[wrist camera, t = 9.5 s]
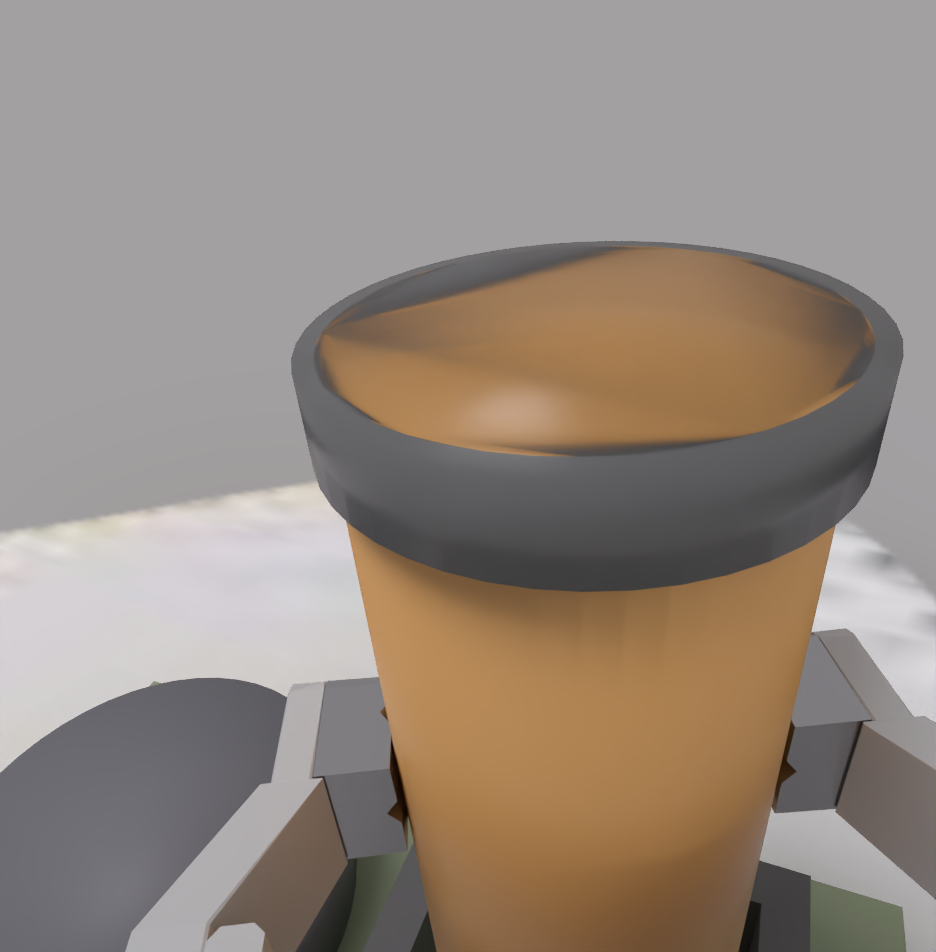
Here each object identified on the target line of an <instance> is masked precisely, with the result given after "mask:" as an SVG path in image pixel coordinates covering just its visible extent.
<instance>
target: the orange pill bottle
mask: <svg viewBox="0 0 936 952" xmlns="http://www.w3.org/2000/svg"><path fill="white" fill-rule="evenodd" d="M902 360H903V339H902V336H901V334H900V332H899V329H898V327H897V325H896V323H895V322H894V320H893V319H892V318H891V317H890V316H889V314H888V313H887V312H886V311H885V309H884V308H882V307H881V306H880V305H879V304H877V303H876V302H875V301H874V300H872V299H871V298H870V297H869V296H867V295H866V294H864V293H862V292H860V291H859V290H857V289H855V288H854V287H852V286H850V285H849V284H846V283H844V282H842V281H840V280H838V279H835V278H833V277H831V276H829V275H827V274H824V273H821V272H818V271H815V270H812V269H809V268H806V267H804V266H801V265H797V264H793V263H790V262H786V261H783V260H779V259H776V258H771V257H766V256H761V255H757V254H753V253H748V252H741V251H735V250H729V249H723V248H716V247H707V246H699V245H688V244H677V243H664V242H637V241H598V242H573V243H559V244H546V245H536V246H526V247H518V248H510V249H503V250H496V251H490V252H485V253H480V254H475V255H468V256H464V257H459V258H455V259H450V260H446V261H442V262H438V263H434V264H430V265H427V266H423V267H419V268H416V269H413V270H410V271H407V272H404V273H401V274H398V275H395V276H392V277H389V278H387V279H384V280H382V281H380V282H377V283H375V284H372V285H370V286H368V287H366V288H364V289H361V290H360V291H357V292H355V293H353V294H351V295H349V296H348V297H346V298H344V299H343V300H341V301H339V302H338V303H336V304H335V305H333V306H331V307H330V308H329V309H328V310H326V311H325V312H323V313H322V314H321V315H320V316H318V317H317V318H316V319H315V320H314V321H313V322H312V323H311V324H310V325H309V326H308V327H307V328H306V329H305V331H304V332H303V334H302V335H301V337H300V338H299V340H298V341H297V343H296V345H295V348H294V351H293V355H292V358H291V366H292V377H293V381H294V386H295V390H296V395H297V399H298V403H299V408H300V412H301V417H302V421H303V425H304V430H305V434H306V438H307V443H308V447H309V452H310V456H311V460H312V465H313V468H314V472H315V475H316V478H317V481H318V484H319V487H320V489H321V491H322V492H323V494H324V495H325V497H326V498H327V500H328V501H329V503H330V504H331V506H332V507H333V508H334V509H335V510H336V511H337V512H338V513H339V514H340V515H341V516H342V517H343V518H344V519H345V520H346V522H347V527H348V532H349V536H350V541H351V546H352V551H353V555H354V560H355V565H356V570H357V575H358V579H359V584H360V589H361V594H362V598H363V603H364V608H365V613H366V617H367V622H368V627H369V632H370V637H371V641H372V646H373V651H374V656H375V660H376V665H377V670H378V675H379V679H380V684H381V689H382V694H383V699H384V703H385V708H386V713H387V718H388V722H389V727H390V732H391V737H392V741H393V746H394V751H395V756H396V761H397V765H398V770H399V775H400V780H401V784H402V789H403V794H404V799H405V804H406V808H407V813H408V818H409V823H410V827H411V832H412V837H413V842H414V846H415V851H416V856H417V861H418V866H419V870H420V875H421V880H422V885H423V889H424V894H425V899H426V904H427V908H428V913H429V918H430V923H431V928H432V932H433V937H434V942H435V947H436V951H437V952H738V951H739V947H740V942H741V938H742V933H743V929H744V925H745V920H746V916H747V911H748V907H749V903H750V898H751V894H752V890H753V885H754V881H755V876H756V872H757V868H758V863H759V859H760V854H761V850H762V846H763V841H764V837H765V832H766V828H767V824H768V819H769V815H770V811H771V806H772V802H773V797H774V793H775V789H776V784H777V780H778V775H779V771H780V767H781V762H782V758H783V753H784V749H785V745H786V740H787V736H788V731H789V727H790V723H791V718H792V714H793V710H794V705H795V701H796V696H797V692H798V688H799V683H800V679H801V674H802V670H803V666H804V661H805V657H806V652H807V648H808V644H809V639H810V635H811V630H812V626H813V622H814V617H815V613H816V609H817V604H818V600H819V595H820V591H821V587H822V582H823V578H824V573H825V569H826V565H827V560H828V556H829V551H830V547H831V543H832V538H833V534H834V530H835V525H836V524H837V523H838V522H839V521H840V520H841V519H842V518H844V517H845V516H846V515H847V514H848V513H849V512H850V511H851V510H852V509H853V508H854V507H855V506H856V505H857V503H858V502H859V500H860V499H861V497H862V496H863V494H864V493H865V491H866V490H867V488H868V487H869V484H870V482H871V479H872V476H873V473H874V470H875V467H876V464H877V460H878V455H879V452H880V448H881V443H882V440H883V436H884V432H885V427H886V424H887V419H888V415H889V412H890V408H891V404H892V399H893V395H894V392H895V388H896V384H897V379H898V376H899V372H900V368H901V364H902Z"/></svg>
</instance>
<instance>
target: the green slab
mask: <svg viewBox="0 0 936 952" xmlns="http://www.w3.org/2000/svg"><path fill="white" fill-rule="evenodd" d="M286 702H287V697H285V696H283V695H282V694H280V693H278V692H276V691H274V690H272V689H269V688H266V687H263V686H261V685H258V684H254V683H250V682H245V681H241V680H234V679H224V678H195V679H186V680H178V681H172V682H167V683H162V684H161V683H158V682H155V681H154V682H153V683H152V684H151V685H150V686H149V687H146V688H143V689H140V690H136V691H133V692H130V693H127V694H125V695H122V696H120V697H117V698H114V699H112V700H109V701H107V702H105V703H103V704H101V705H99V706H96V707H94V708H92V709H90V710H88V711H86V712H84V713H82V714H81V715H79V716H77V717H75V718H74V719H72V720H70V721H68V722H67V723H65V724H63V725H62V726H60V727H59V728H57V729H56V730H54V731H53V732H51V733H50V734H48V735H47V736H45V737H44V738H42V739H41V740H39V741H38V742H37V743H35V744H34V745H33V746H32V747H30V748H29V749H28V750H26V751H25V752H24V753H23V754H21V755H20V756H19V757H18V758H16V759H15V760H14V761H13V762H12V763H11V764H10V765H9V766H8V767H7V768H5V769H4V770H3V771H2V772H1V773H0V952H125V951H126V948H127V944H128V941H129V938H130V935H131V932H132V931H133V930H134V928H135V927H136V926H137V925H138V924H139V923H140V922H141V920H142V919H143V918H144V917H145V916H146V915H147V914H148V912H149V911H150V910H151V909H152V908H153V907H154V906H155V904H156V903H157V902H158V901H159V900H160V899H161V897H162V896H163V895H164V894H165V893H166V892H167V891H168V889H169V888H170V887H171V886H172V885H173V884H174V883H175V881H176V880H177V879H178V878H179V877H180V876H181V875H182V873H183V872H184V871H185V870H186V869H187V868H188V867H189V865H190V864H191V863H192V862H193V861H194V860H195V859H196V857H197V856H198V855H199V854H200V853H201V852H202V851H203V849H204V848H205V847H206V846H207V845H208V844H209V843H210V841H211V840H212V839H213V838H214V837H215V836H216V834H217V833H218V832H219V831H220V830H221V829H222V828H223V826H224V825H225V824H226V823H227V822H228V821H229V820H230V818H231V817H232V816H233V815H234V814H235V813H236V812H237V810H238V809H239V808H240V807H241V806H242V805H243V804H244V802H245V801H246V800H247V799H248V798H249V797H250V796H251V794H252V793H253V792H254V791H255V790H256V789H257V788H258V786H259V785H260V784H266V783H271V780H272V774H273V769H274V764H275V759H276V754H277V748H278V743H279V738H280V733H281V728H282V722H283V717H284V712H285V707H286ZM347 862H348V864H347V865H346V867H345V869H344V871H343V872H342V874H341V876H340V877H339V879H338V881H337V882H336V884H335V886H334V887H333V889H332V891H331V892H330V894H329V896H328V898H327V899H326V901H325V903H324V904H323V906H322V908H321V909H320V911H319V913H318V914H317V916H316V918H315V919H314V921H313V923H312V924H311V926H310V928H309V930H308V931H307V933H306V935H305V936H304V938H303V940H302V941H301V943H300V945H299V946H298V948H297V950H296V951H295V952H437V951H436V947H435V942H434V937H433V932H432V928H431V923H430V918H429V913H428V908H427V904H426V899H425V894H424V889H423V885H422V880H421V875H420V870H419V866H418V861H417V856H416V851H415V846H414V842H413V837H412V832H411V827H410V823H409V818H408V851H406V852H398V853H391V854H383V855H376V856H368V857H360V858H353V859H347ZM738 952H906V944H905V933H904V922H903V911H902V907H899V906H896V905H893V904H889V903H886V902H883V901H879V900H876V899H873V898H869V897H866V896H863V895H860V894H856V893H853V892H850V891H846V890H843V889H840V888H836V887H833V886H830V885H826V884H823V883H820V882H817V881H813V880H811V876H808V875H805V874H802V873H799V872H795V871H792V870H789V869H785V868H782V867H779V866H775V865H772V864H769V863H765V862H762V861H759V863H758V868H757V872H756V876H755V881H754V885H753V890H752V894H751V898H750V903H749V907H748V911H747V916H746V920H745V925H744V929H743V933H742V938H741V942H740V947H739V951H738Z"/></svg>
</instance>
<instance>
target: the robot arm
mask: <svg viewBox="0 0 936 952" xmlns="http://www.w3.org/2000/svg"><path fill="white" fill-rule="evenodd" d="M772 808H773V810H774V813H786V812H799V811H812V810H826V809H836V813H837V814H839V815H840V816H841V817H842V818H843V819H844V820H845V821H847V822H848V823H849V824H850V825H851V826H852V827H853V828H855V829H856V830H857V831H858V832H859V833H860V834H861V835H863V836H864V837H865V838H866V839H867V840H868V841H869V842H871V843H872V844H873V845H874V846H875V847H876V848H877V849H879V850H880V851H881V852H882V853H883V854H884V855H885V856H887V857H888V858H889V859H890V860H891V861H892V862H893V863H895V864H896V865H897V866H898V867H899V868H900V869H901V870H903V871H904V872H905V873H906V874H907V875H908V876H910V877H911V878H912V879H913V880H914V881H915V882H916V883H918V884H919V885H920V886H921V887H922V888H923V889H924V890H926V891H927V892H928V893H929V894H930V895H931V896H932V897H934V898H935V899H936V723H935V722H933V721H932V720H930V719H928V718H927V717H925V716H920V717H913V715H912V714H911V713H910V711H909V710H908V709H907V707H906V706H905V704H904V703H903V702H902V700H901V699H900V697H899V696H898V695H897V693H896V692H895V690H894V689H893V688H892V686H891V685H890V684H889V682H888V681H887V679H886V678H885V677H884V675H883V674H882V672H881V671H880V670H879V668H878V667H877V666H876V664H875V663H874V661H873V660H872V659H871V657H870V656H869V654H868V653H867V652H866V650H865V649H864V648H863V646H862V645H861V643H860V642H859V641H858V639H857V638H856V636H855V635H854V634H853V633H852V632H850V631H849V630H847V629H837V630H828V631H819V632H811V635H810V639H809V644H808V648H807V652H806V657H805V661H804V666H803V670H802V674H801V679H800V683H799V688H798V692H797V696H796V701H795V705H794V710H793V714H792V718H791V723H790V727H789V731H788V736H787V740H786V745H785V749H784V753H783V758H782V762H781V767H780V771H779V775H778V780H777V784H776V789H775V793H774V797H773V802H772ZM406 851H408V813H407V808H406V804H405V799H404V794H403V789H402V784H401V780H400V775H399V770H398V765H397V761H396V756H395V751H394V746H393V741H392V737H391V732H390V727H389V722H388V718H387V713H386V708H385V703H384V699H383V694H382V689H381V684H380V679H379V677H375V678H362V679H349V680H336V681H328V682H317V683H304V684H293V686H292V687H291V689H290V691H289V693H288V697H287V702H286V707H285V712H284V717H283V722H282V728H281V733H280V738H279V743H278V748H277V754H276V759H275V764H274V769H273V774H272V780H271V783H266V784H260V785H259V786H258V788H257V789H256V790H255V791H254V792H253V793H252V794H251V796H250V797H249V798H248V799H247V800H246V801H245V802H244V804H243V805H242V806H241V807H240V808H239V809H238V810H237V812H236V813H235V814H234V815H233V816H232V817H231V818H230V820H229V821H228V822H227V823H226V824H225V825H224V826H223V828H222V829H221V830H220V831H219V832H218V833H217V834H216V836H215V837H214V838H213V839H212V840H211V841H210V843H209V844H208V845H207V846H206V847H205V848H204V849H203V851H202V852H201V853H200V854H199V855H198V856H197V857H196V859H195V860H194V861H193V862H192V863H191V864H190V865H189V867H188V868H187V869H186V870H185V871H184V872H183V873H182V875H181V876H180V877H179V878H178V879H177V880H176V881H175V883H174V884H173V885H172V886H171V887H170V888H169V889H168V891H167V892H166V893H165V894H164V895H163V896H162V897H161V899H160V900H159V901H158V902H157V903H156V904H155V906H154V907H153V908H152V909H151V910H150V911H149V912H148V914H147V915H146V916H145V917H144V918H143V919H142V920H141V922H140V923H139V924H138V925H137V926H136V927H135V928H134V930H133V931H132V932H131V935H130V938H129V941H128V944H127V948H126V951H125V952H295V951H296V950H297V948H298V946H299V945H300V943H301V941H302V940H303V938H304V936H305V935H306V933H307V931H308V930H309V928H310V926H311V924H312V923H313V921H314V919H315V918H316V916H317V914H318V913H319V911H320V909H321V908H322V906H323V904H324V903H325V901H326V899H327V898H328V896H329V894H330V892H331V891H332V889H333V887H334V886H335V884H336V882H337V881H338V879H339V877H340V876H341V874H342V872H343V871H344V869H345V867H346V865H347V864H348V862H347V859H353V858H360V857H368V856H376V855H383V854H391V853H398V852H406Z"/></svg>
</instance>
